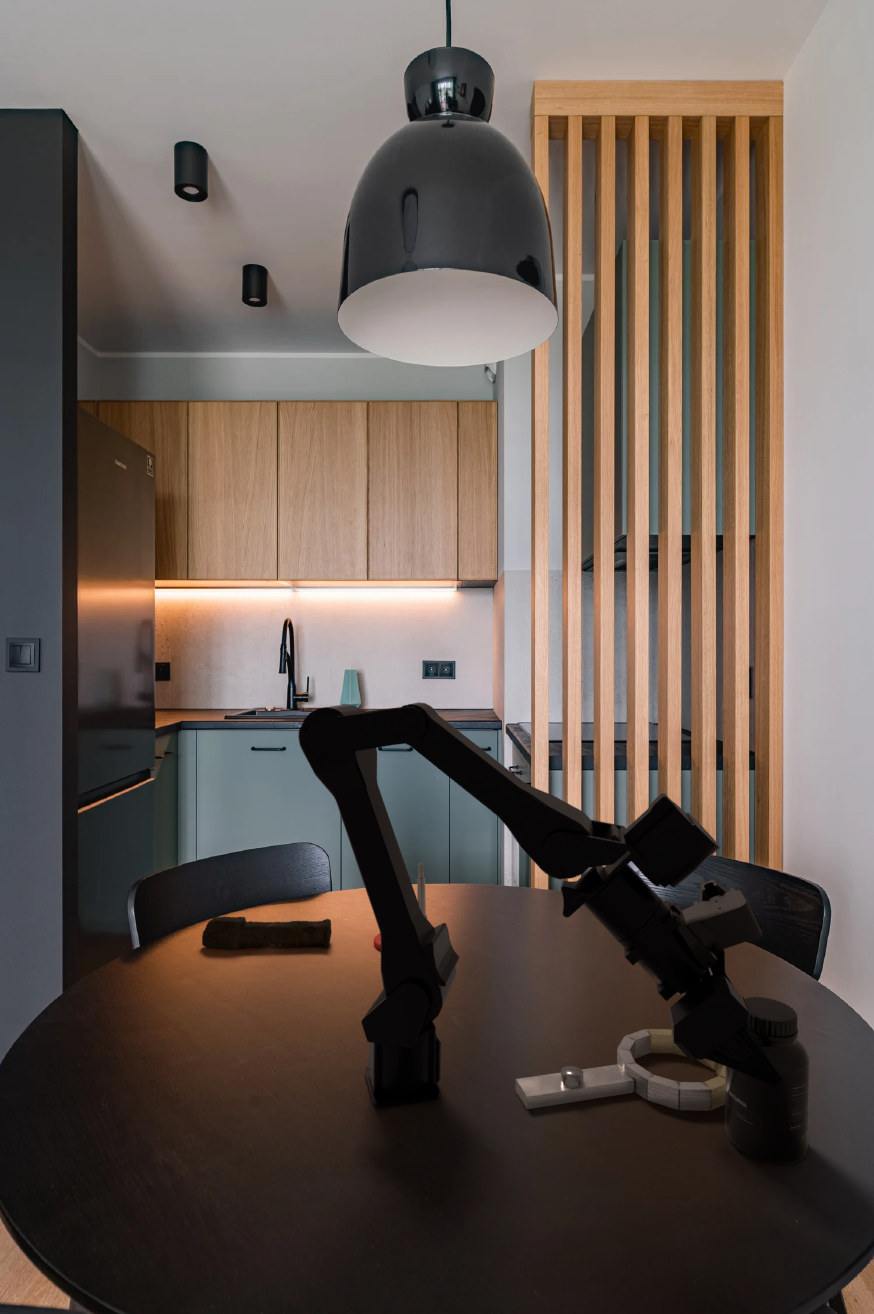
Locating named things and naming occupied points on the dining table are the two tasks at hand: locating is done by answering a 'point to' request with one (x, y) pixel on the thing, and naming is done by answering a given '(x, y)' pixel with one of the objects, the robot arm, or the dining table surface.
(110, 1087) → the dining table surface
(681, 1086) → the segmented ring handle
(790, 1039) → the supplement bottle
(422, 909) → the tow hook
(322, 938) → the hand tool
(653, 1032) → the ring with knobbed tab
